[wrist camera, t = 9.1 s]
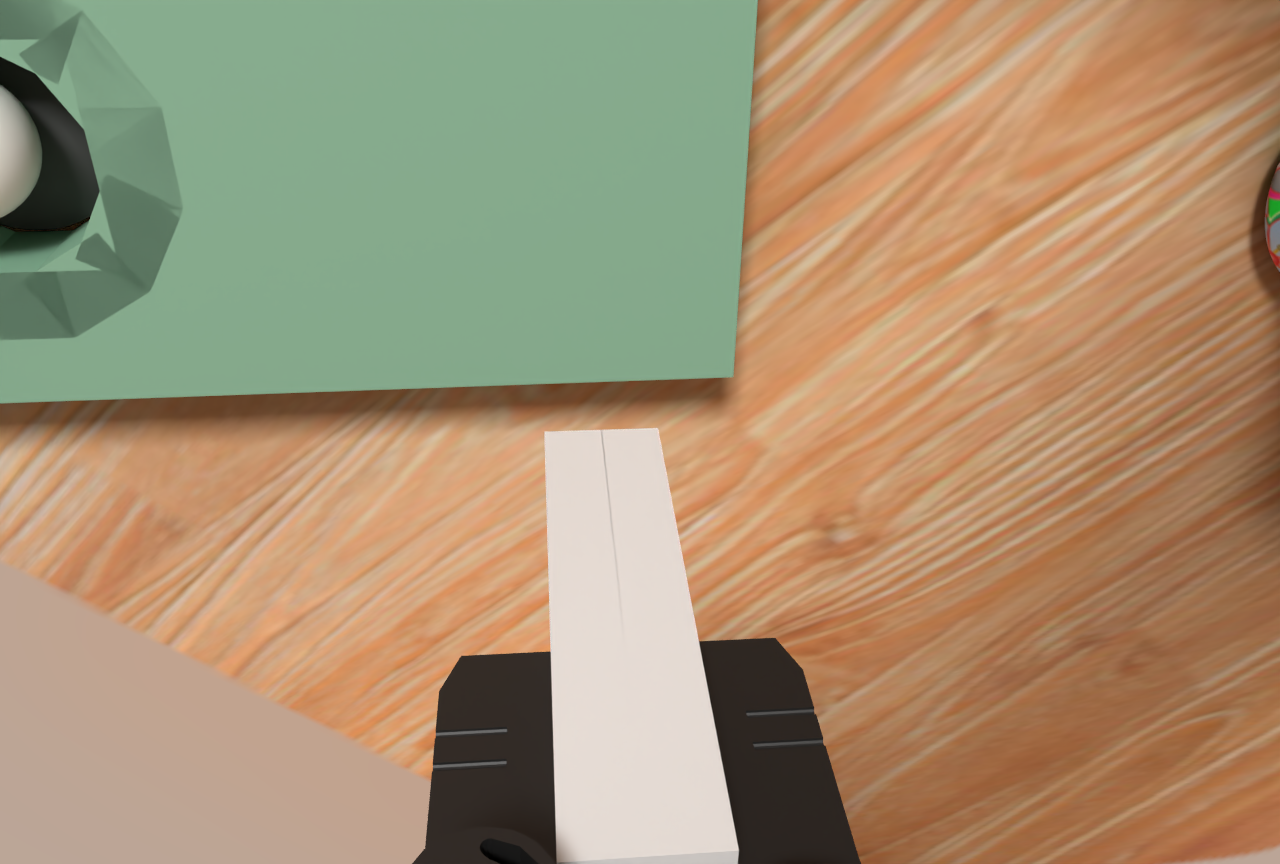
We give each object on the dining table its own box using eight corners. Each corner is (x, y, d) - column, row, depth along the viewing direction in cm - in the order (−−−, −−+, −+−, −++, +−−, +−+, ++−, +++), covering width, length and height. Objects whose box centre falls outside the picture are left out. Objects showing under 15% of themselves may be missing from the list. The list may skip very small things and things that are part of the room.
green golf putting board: (-333, -160, 26) (-512, -141, 22) (744, -153, 28) (788, -134, 24) (-125, 359, 34) (-226, 455, 29) (717, 332, 36) (747, 417, 31)
